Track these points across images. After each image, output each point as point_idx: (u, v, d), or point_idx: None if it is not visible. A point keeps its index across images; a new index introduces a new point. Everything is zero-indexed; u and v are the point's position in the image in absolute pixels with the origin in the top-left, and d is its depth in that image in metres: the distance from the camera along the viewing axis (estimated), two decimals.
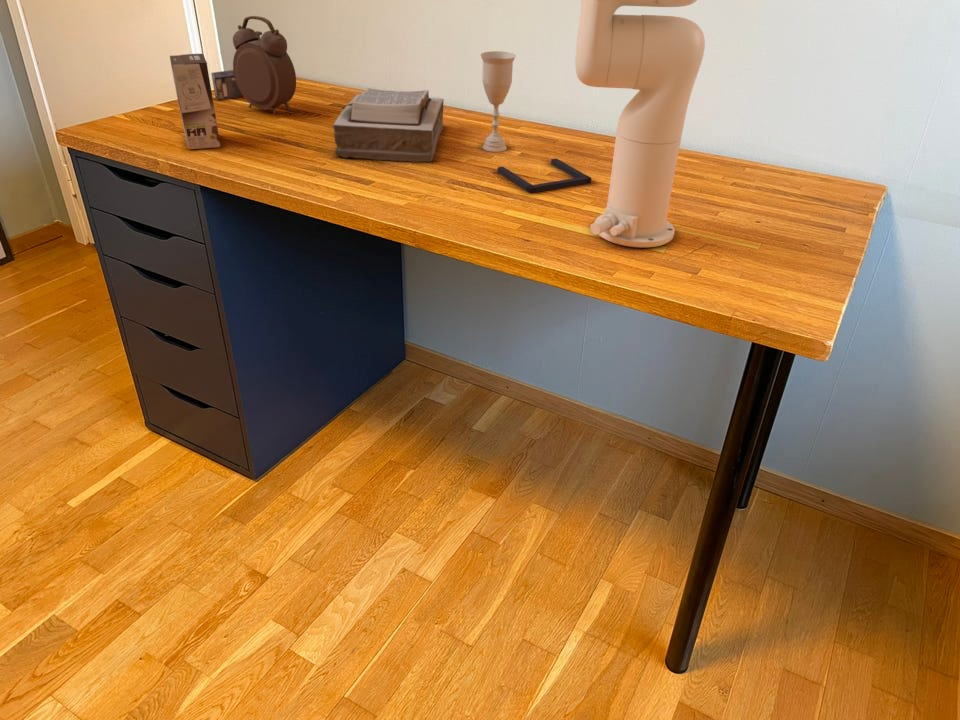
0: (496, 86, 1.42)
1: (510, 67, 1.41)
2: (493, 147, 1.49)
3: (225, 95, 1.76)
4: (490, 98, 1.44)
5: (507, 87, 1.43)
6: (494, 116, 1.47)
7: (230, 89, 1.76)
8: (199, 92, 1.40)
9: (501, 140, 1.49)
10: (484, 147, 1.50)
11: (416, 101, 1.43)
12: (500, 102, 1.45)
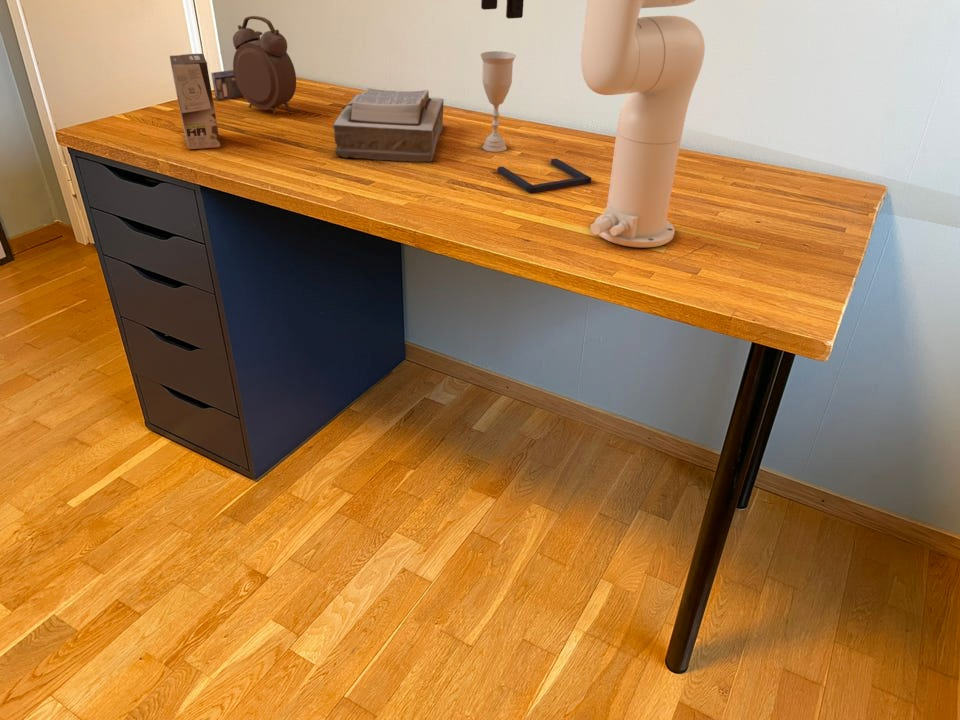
0: (496, 86, 1.42)
1: (510, 67, 1.41)
2: (493, 147, 1.49)
3: (225, 95, 1.76)
4: (490, 98, 1.44)
5: (507, 87, 1.43)
6: (494, 116, 1.47)
7: (230, 89, 1.76)
8: (199, 92, 1.40)
9: (501, 140, 1.49)
10: (484, 147, 1.50)
11: (416, 101, 1.43)
12: (500, 102, 1.45)
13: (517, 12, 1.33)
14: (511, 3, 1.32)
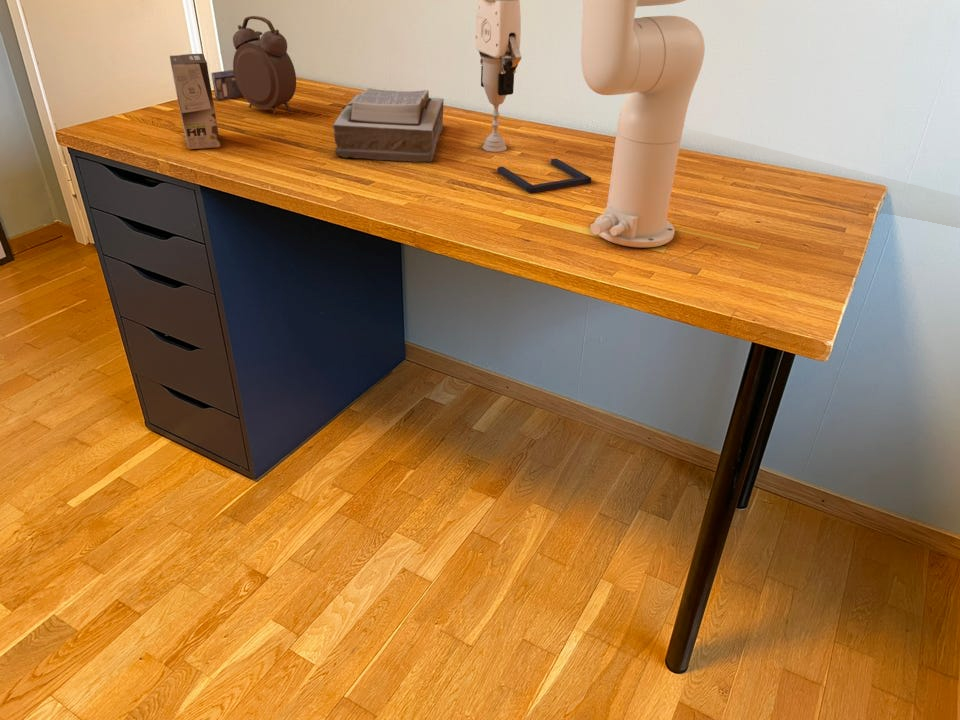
0: (496, 86, 1.42)
1: None
2: (493, 147, 1.49)
3: (225, 95, 1.76)
4: (490, 98, 1.44)
5: None
6: (494, 116, 1.47)
7: (230, 89, 1.76)
8: (199, 92, 1.40)
9: (501, 140, 1.49)
10: (484, 147, 1.50)
11: (416, 101, 1.43)
12: (500, 102, 1.45)
13: (508, 90, 1.41)
14: (502, 81, 1.40)
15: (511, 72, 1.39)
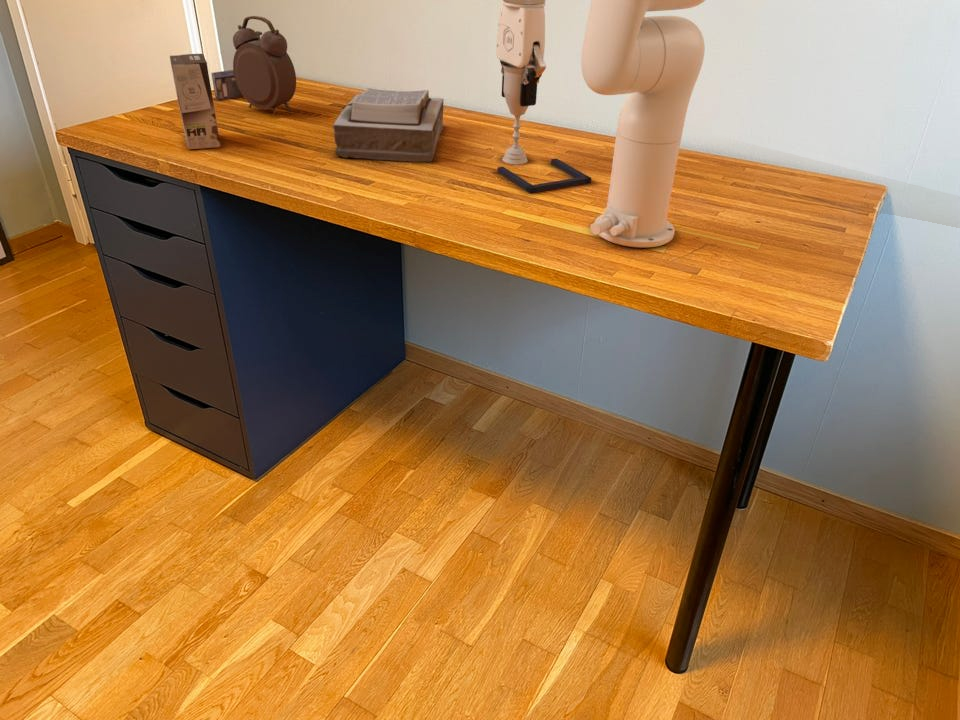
0: (518, 96, 1.35)
1: None
2: (513, 159, 1.43)
3: (225, 95, 1.76)
4: (511, 109, 1.38)
5: None
6: (515, 127, 1.41)
7: (230, 89, 1.76)
8: (199, 92, 1.40)
9: (522, 152, 1.43)
10: (504, 159, 1.44)
11: (416, 101, 1.43)
12: (522, 113, 1.39)
13: (531, 100, 1.35)
14: (525, 92, 1.34)
15: (534, 82, 1.33)
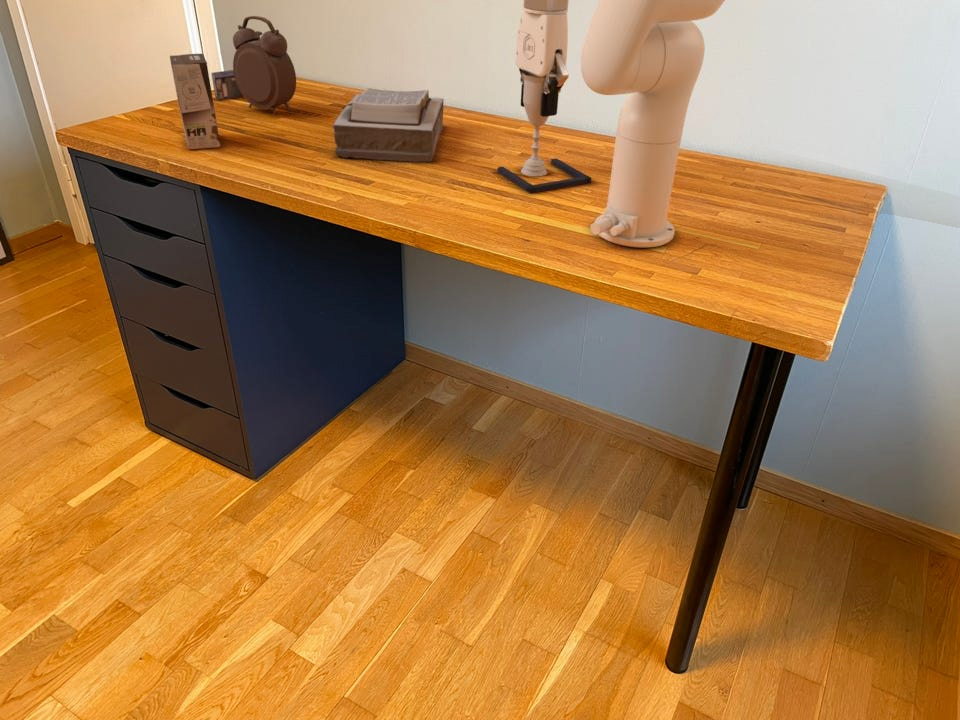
0: (539, 106, 1.30)
1: None
2: (533, 171, 1.38)
3: (225, 95, 1.76)
4: (531, 119, 1.33)
5: None
6: (535, 138, 1.36)
7: (230, 89, 1.76)
8: (199, 92, 1.40)
9: (542, 164, 1.38)
10: (523, 171, 1.39)
11: (416, 101, 1.43)
12: (542, 123, 1.33)
13: (552, 110, 1.30)
14: (546, 101, 1.29)
15: (556, 92, 1.28)
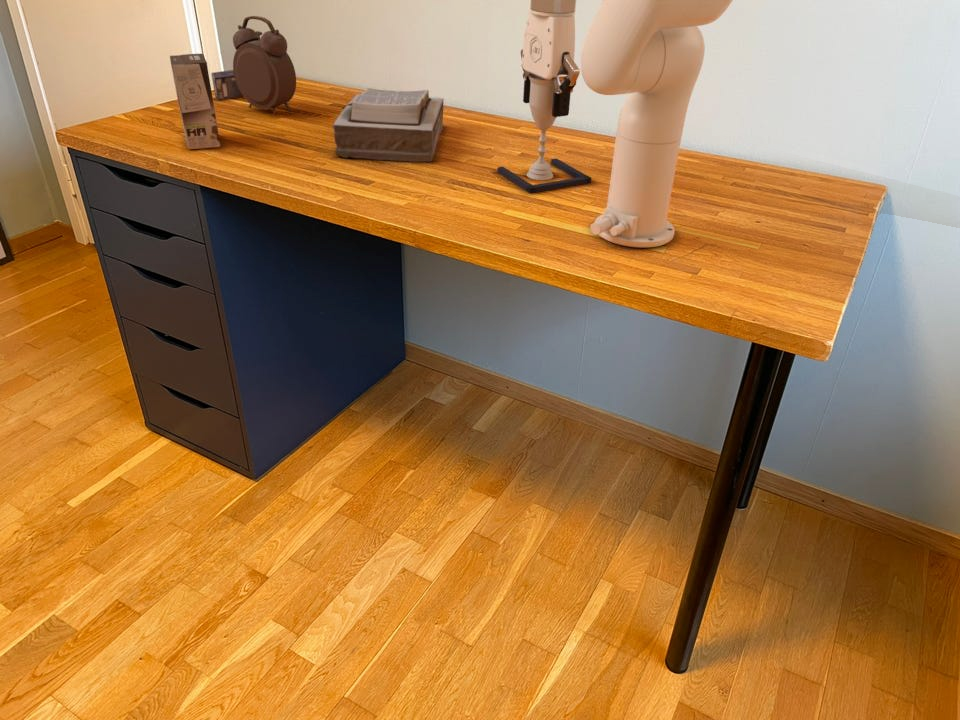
0: (545, 109, 1.29)
1: None
2: (539, 175, 1.36)
3: (225, 95, 1.76)
4: (538, 122, 1.31)
5: None
6: (541, 141, 1.34)
7: (230, 89, 1.76)
8: (199, 92, 1.40)
9: (548, 167, 1.36)
10: (529, 175, 1.37)
11: (416, 101, 1.43)
12: (548, 127, 1.32)
13: (563, 111, 1.27)
14: (558, 102, 1.26)
15: (568, 91, 1.25)
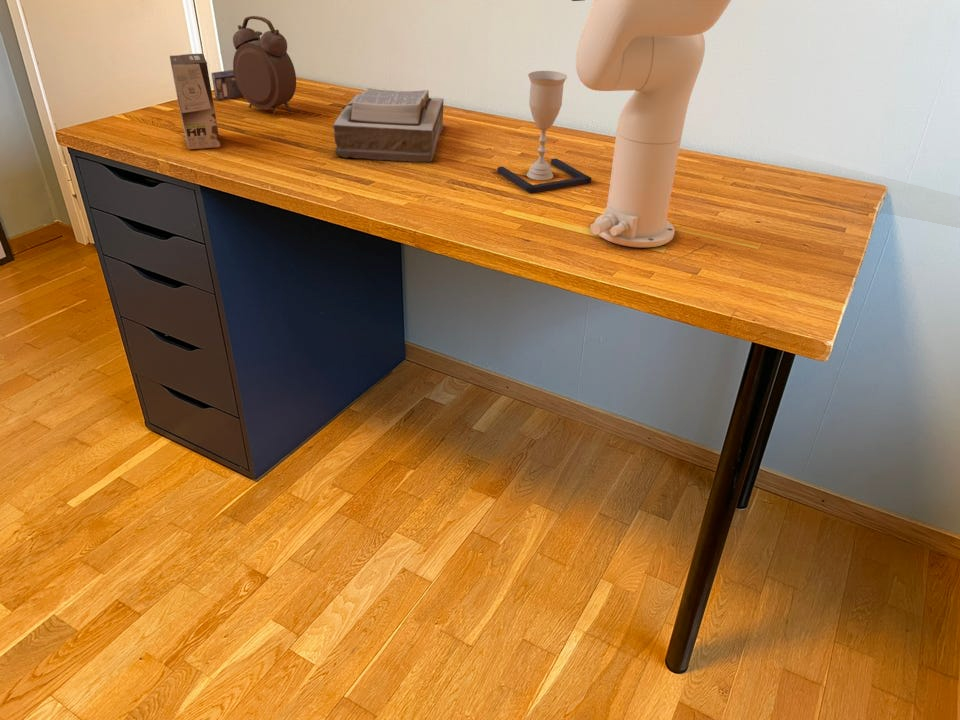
0: (545, 109, 1.29)
1: (561, 89, 1.28)
2: (539, 175, 1.36)
3: (225, 95, 1.76)
4: (538, 122, 1.31)
5: (557, 110, 1.30)
6: (541, 141, 1.34)
7: (230, 89, 1.76)
8: (199, 92, 1.40)
9: (548, 167, 1.36)
10: (529, 175, 1.37)
11: (416, 101, 1.43)
12: (548, 127, 1.32)
13: None
14: None
15: None
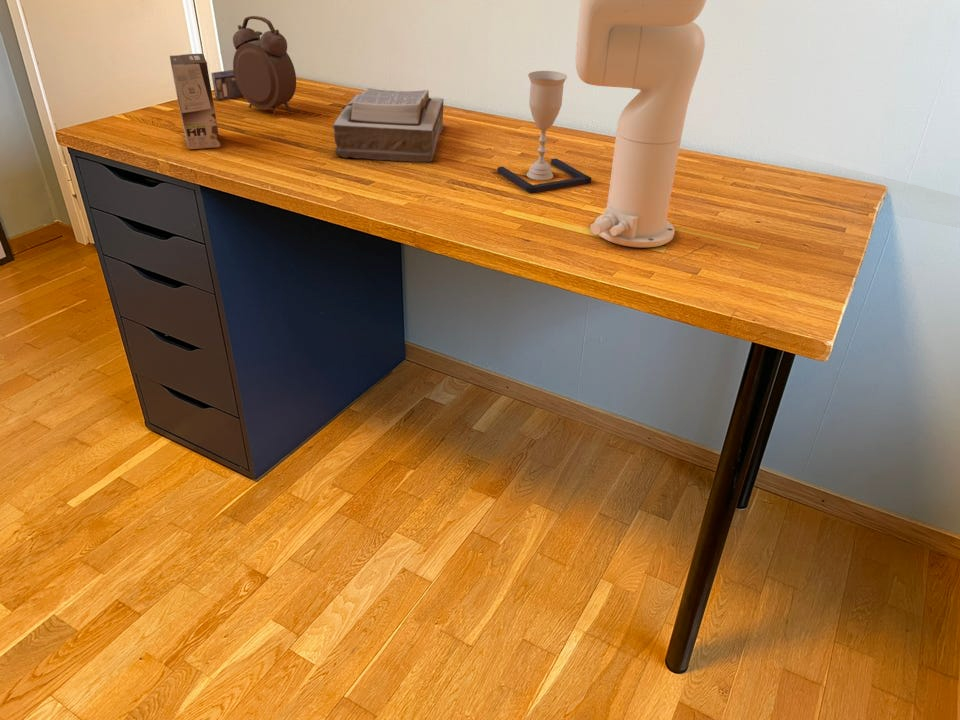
0: (545, 109, 1.29)
1: (561, 89, 1.28)
2: (539, 175, 1.36)
3: (225, 95, 1.76)
4: (538, 122, 1.31)
5: (557, 110, 1.30)
6: (541, 141, 1.34)
7: (230, 89, 1.76)
8: (199, 92, 1.40)
9: (548, 167, 1.36)
10: (529, 175, 1.37)
11: (416, 101, 1.43)
12: (548, 127, 1.32)
13: None
14: None
15: None
